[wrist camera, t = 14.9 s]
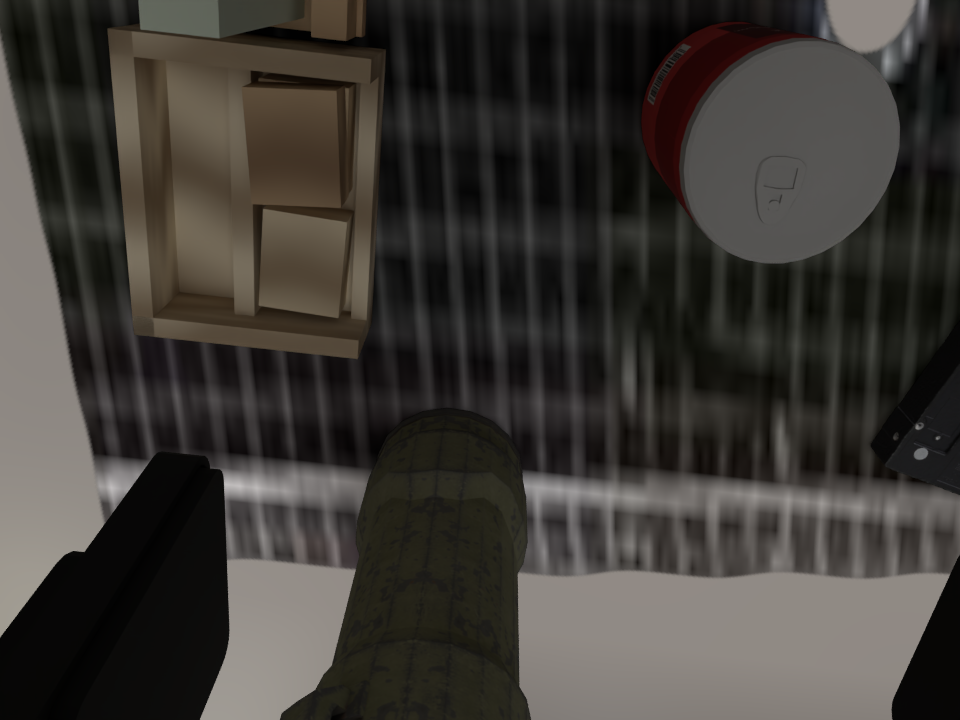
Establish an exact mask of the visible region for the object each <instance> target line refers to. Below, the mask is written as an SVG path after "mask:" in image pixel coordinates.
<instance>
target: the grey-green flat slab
mask: <svg viewBox="0 0 960 720" xmlns="http://www.w3.org/2000/svg"><path fill="white" fill-rule="evenodd" d="M138 1H139V15H140V29H141V30H150V31H159V32H167V33H176V34H185V35H194V36H202V37H211V38H223V37H227V36H232V35H236V34H240V33H244V32H248V31H252V30H256V29H260V28H265V27H269V26H273V25H277V24H281V23H285V22H289V21H293V20H298V19H302V18H304V13H305V0H138Z"/></svg>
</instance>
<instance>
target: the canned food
mask: <svg viewBox="0 0 960 720" xmlns="http://www.w3.org/2000/svg"><path fill="white" fill-rule="evenodd" d="M641 126H642V136H643V141H644V144H645V148H646V151H647V154H648V156H649V158H650V160H651V162H652V163H653V165H654V167H655V169H656V170H657V171H658V173H659V174H660V176H661V177H662V178H663V180H664V181H665V183H666V184H667V185H668V187H669V188H670V190H671V191H672V192H673V194H674V195H675V197H676V198H677V199H678V201H679V202H680V204H681V205H682V206H683V208H684V209H685V211H686V212H687V213H688V215H689V216H690V217H691V219H692V220H693V221H694V222H695V223H696V225H697V226H698V227H699V228H700V229H701V230H702V231H703V233H704V234H705V235H706V236H707V237H708V238H709V239H710V240H712V241H713V242H714V243H716V244H717V245H719V246H720V247H721V248H723V249H724V250H726V251H727V252H729V253H731V254H734V255H736V256H738V257H740V258H743V259H745V260H750V261H755V262H760V263H787V262H792V261H797V260H802V259H805V258H808V257H811V256H813V255H816V254H819V253H821V252H824V251H825V250H827V249H829V248H830V247H832V246H834V245H835V244H837V243H839V242H840V241H842V240H843V239H844V238H846V237H847V236H848V235H849V234H850V233H852V232H853V231H854V230H855V229H856V228H858V227H859V226H860V225H861V223H862V222H863V221H864V220H865V219H866V218H867V217H868V215H869V214H870V213H871V212H872V211H873V210H874V208H875V207H876V205H877V203H878V202H879V200H880V198H881V197H882V195H883V194H884V192H885V190H886V188H887V186H888V183H889V181H890V178H891V176H892V174H893V171H894V168H895V164H896V159H897V155H898V150H899V134H900V124H899V118H898V112H897V107H896V103H895V100H894V98H893V96H892V93H891V91H890V88H889V86H888V84H887V83H886V81H885V80H884V79H883V77H882V76H881V74H880V73H879V72H878V70H877V69H876V68H875V67H874V66H873V65H872V64H870V63H869V62H868V61H867V60H866V59H864V58H863V57H862V56H861V55H859V54H857V53H856V52H855V51H853V50H851V49H849V48H847V47H845V46H843V45H841V44H839V43H836V42H832V41H828V40H826V39H822V38H818V37H813V36H808V35H804V34H799V33H794V32H789V31H784V30H780V29H775V28H770V27H765V26H760V25H755V24H751V23H746V22H724V23H720V24H715V25H711V26H708V27H706V28H703V29H701V30H699V31H697V32H695V33H693V34H691V35H690V36H688V37H687V38H685V39H684V40H683V41H681V42H680V43H678V44H677V45H676V46H675V47H674V48H673V49H672V50H671V51H670V52H669V53H668V54H667V55H666V56H665V58H664V59H663V61H662V62H661V64H660V65H659V66H658V68H657V69H656V71H655V72H654V74H653V77H652V79H651V81H650V83H649V85H648V87H647V91H646V94H645V98H644V102H643V106H642V118H641Z"/></svg>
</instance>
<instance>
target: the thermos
mask: <svg viewBox="0 0 960 720" xmlns="http://www.w3.org/2000/svg"><path fill="white" fill-rule="evenodd" d="M522 478H523V475H522V467H521V462H520V456H519V452H518V450H517V449H516V447H515V445H514V444H513V442H512V440H511V439H510V437H509V435H508V434H507V433H505V432H504V431H503V430H502V429H501V428H499V427H498V426H497V425H496V424H495V423H494V422H492V421H491V420H489V419H487V418H484V417H482V416H480V415H477V414H475V413H473V412H471V411H464V410H457V409H449V408H444V409H437V410H430V411H423V412H421V413H419V414H417V415H414V416H412V417H410V418H408V419H406V420H404V421H402V422H401V423H400V424H399V425H398V426H397V427H396V428H395V429H394V430H393V431H392V432H390V433H389V434H388V435H387V437H386V439H385V441H384V443H383V445H382V447H381V449H380V451H379V453H378V457H377V463H376V465H375V467H374V469H373V471H372V473H371V475H370V477H369V480H368V483H367V487H366V491H365V494H364V498H363V502H362V505H361V509H360V513H359V516H358V520H357V531H356V545H357V549H358V552H359V560H358V564H357V568H356V572H355V576H354V580H353V584H352V588H351V591H350V596H349V599H348V603H347V607H346V612H345V615H344V619H343V623H342V628H341V631H340V635H339V639H338V643H337V647H336V651H335V655H334V659H333V663H332V666H331V667H330V668H329V669H328V671H327V672H326V673H325V674H324V675H323V677H322V679H321V681H320V682H319V684H318V686H317V688H316V690H315V691H313V692H311V693H310V694H308V695H307V696H305V697H303V698H302V699H300V700H299V701H297V702H296V703H295V704H293V705H292V706H291V707H290V708H288V709H287V710H286V711H284V712H283V713H282V714H281V718H280V720H531V717H530V713H529V708H528V703H527V699H526V697H525V696H524V694H523V692H522V691H521V689H520V687H519V638H518V637H519V635H518V577H517V575H518V572H519V570H520V568H521V567H522V565H523V562H524V557H525V552H526V548H527V543H528V540H527V511H526V495H525V490H524V484H523V479H522Z"/></svg>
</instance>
